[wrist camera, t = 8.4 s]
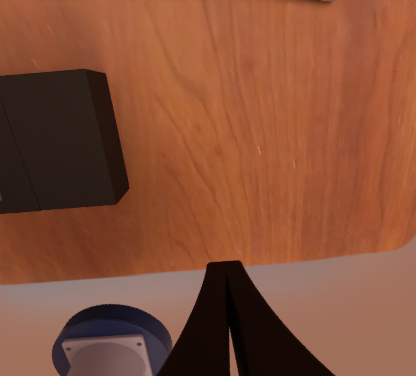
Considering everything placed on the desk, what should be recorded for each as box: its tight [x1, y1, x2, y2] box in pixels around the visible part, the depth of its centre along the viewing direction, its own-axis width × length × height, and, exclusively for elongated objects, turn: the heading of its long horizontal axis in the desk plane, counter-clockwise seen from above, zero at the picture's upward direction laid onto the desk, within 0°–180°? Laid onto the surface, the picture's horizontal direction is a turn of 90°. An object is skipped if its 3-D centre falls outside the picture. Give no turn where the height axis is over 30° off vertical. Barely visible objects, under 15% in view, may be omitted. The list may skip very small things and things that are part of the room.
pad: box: [0, 69, 129, 210], centre depth 16 cm, size 8×5×3 cm, turn 4°
